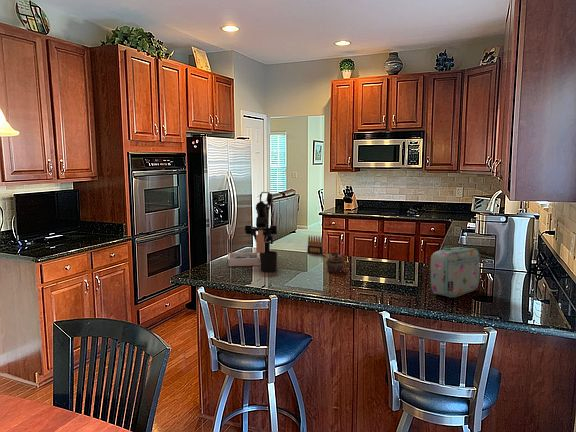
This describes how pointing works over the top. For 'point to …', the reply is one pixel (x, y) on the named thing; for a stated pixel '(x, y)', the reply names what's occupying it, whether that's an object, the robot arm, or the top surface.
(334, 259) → the cupcake
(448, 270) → the lunch box
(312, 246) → the ammunition clip
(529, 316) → the top surface
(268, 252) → the pen holder
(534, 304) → the top surface
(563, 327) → the top surface
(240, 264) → the tray
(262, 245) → the post
